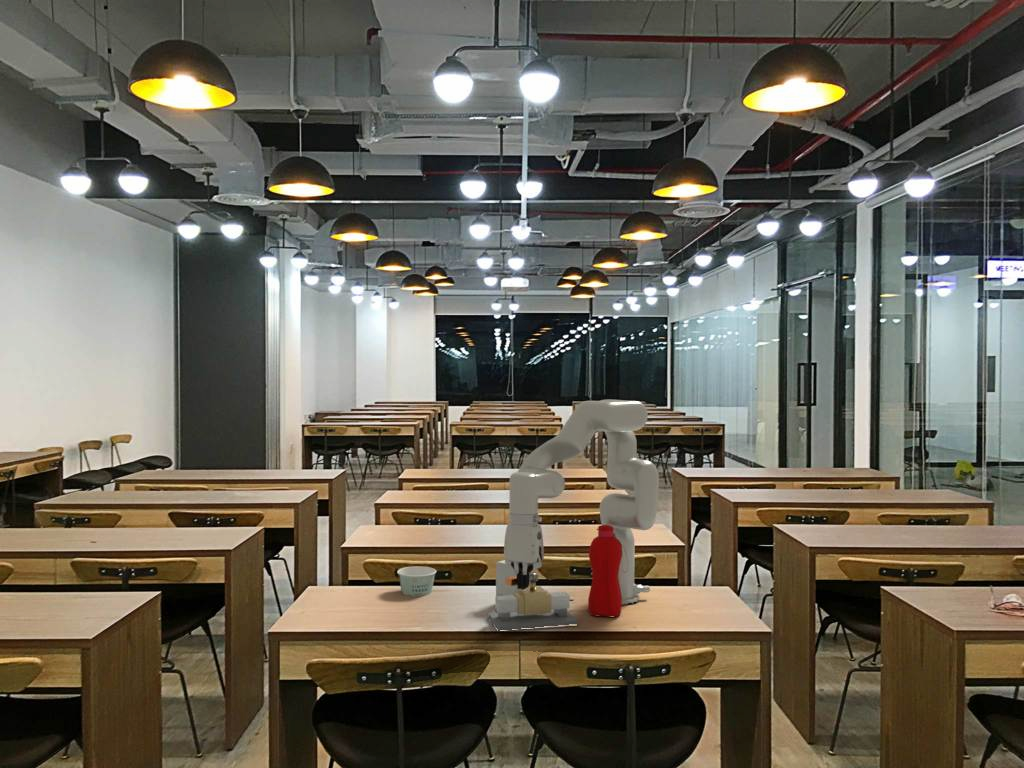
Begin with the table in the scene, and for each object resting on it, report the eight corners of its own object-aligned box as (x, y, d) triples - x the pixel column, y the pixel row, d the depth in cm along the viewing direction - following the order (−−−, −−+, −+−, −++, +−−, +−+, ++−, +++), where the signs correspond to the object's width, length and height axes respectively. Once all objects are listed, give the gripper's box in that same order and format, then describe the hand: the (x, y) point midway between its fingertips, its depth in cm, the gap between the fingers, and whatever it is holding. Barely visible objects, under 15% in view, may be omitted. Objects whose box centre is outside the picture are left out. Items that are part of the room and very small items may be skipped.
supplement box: (515, 609, 250) (515, 565, 250) (494, 604, 255) (495, 561, 254) (530, 603, 256) (530, 560, 256) (510, 599, 261) (510, 557, 260)
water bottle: (626, 619, 241) (627, 529, 240) (586, 617, 243) (587, 528, 243) (628, 610, 250) (629, 523, 249) (590, 607, 253) (591, 521, 252)
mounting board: (564, 613, 247) (564, 608, 247) (577, 626, 235) (577, 620, 235) (488, 618, 242) (488, 613, 241) (498, 631, 230) (498, 626, 230)
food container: (405, 599, 260) (406, 577, 260) (391, 589, 270) (391, 568, 270) (442, 594, 266) (442, 573, 265) (426, 585, 276) (427, 564, 276)
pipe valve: (564, 611, 244) (564, 576, 243) (570, 617, 238) (571, 581, 238) (494, 615, 239) (494, 580, 238) (499, 622, 233) (499, 586, 233)
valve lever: (533, 578, 240) (533, 571, 240) (540, 580, 238) (540, 573, 238) (505, 584, 234) (505, 577, 234) (511, 586, 231) (511, 579, 231)
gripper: (555, 519, 230) (554, 588, 231) (506, 514, 238) (506, 581, 239) (541, 524, 224) (540, 595, 224) (492, 518, 231) (491, 587, 232)
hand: (522, 587), depth 232 cm, fingers closed
